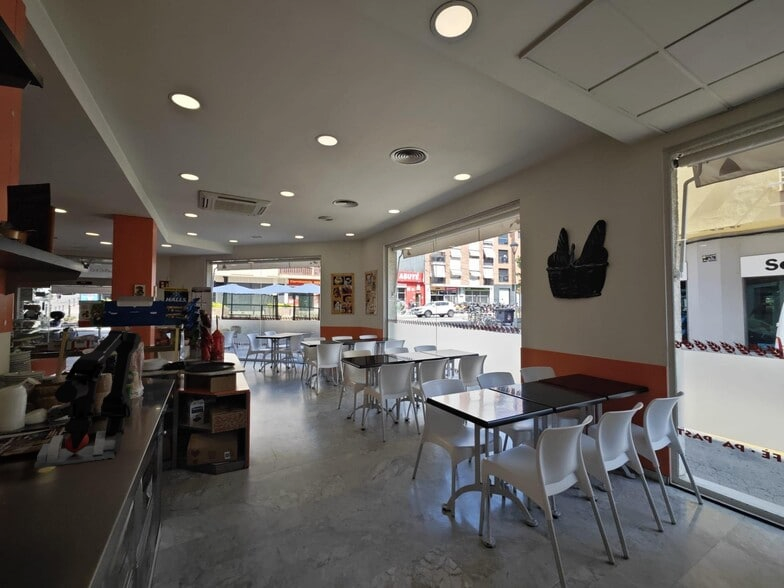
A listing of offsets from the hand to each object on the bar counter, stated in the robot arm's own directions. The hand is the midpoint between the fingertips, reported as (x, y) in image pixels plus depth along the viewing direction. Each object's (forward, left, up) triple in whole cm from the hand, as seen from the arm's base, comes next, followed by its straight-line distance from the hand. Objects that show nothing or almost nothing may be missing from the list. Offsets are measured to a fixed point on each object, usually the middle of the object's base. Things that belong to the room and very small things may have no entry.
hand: (76, 444), depth 115 cm
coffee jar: (-48, +11, -4) cm, 49 cm away
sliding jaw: (0, +8, -3) cm, 9 cm away
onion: (0, 0, -3) cm, 3 cm away
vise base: (0, +1, -4) cm, 4 cm away
